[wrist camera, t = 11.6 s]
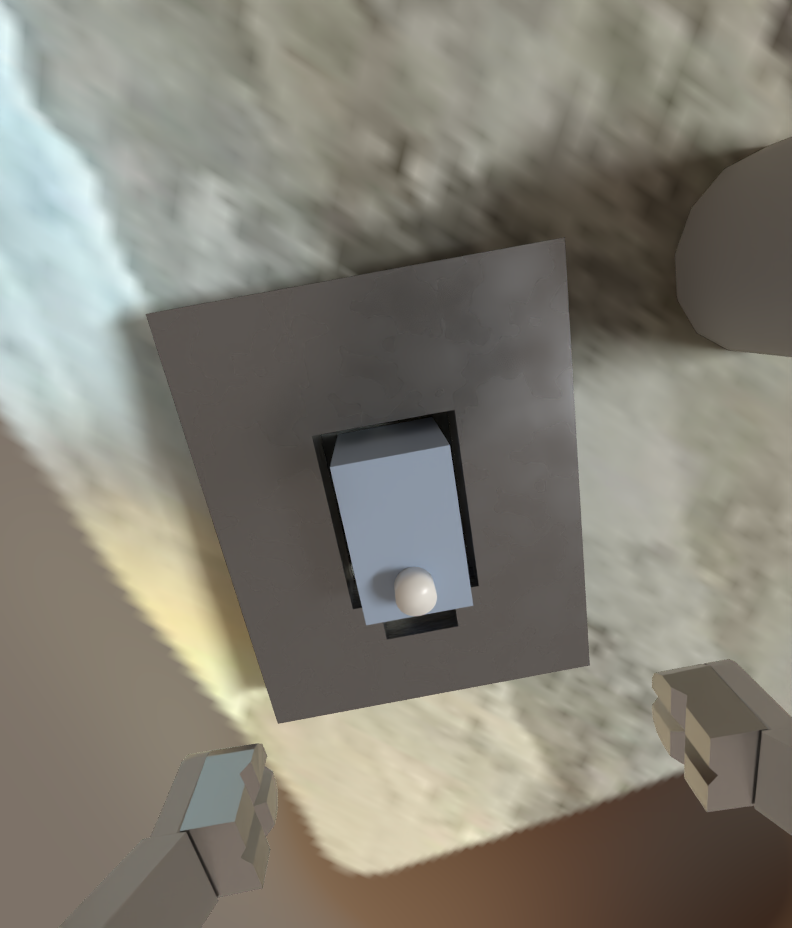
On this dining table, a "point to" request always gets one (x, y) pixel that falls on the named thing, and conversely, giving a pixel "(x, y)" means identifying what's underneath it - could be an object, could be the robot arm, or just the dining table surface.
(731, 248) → the cup
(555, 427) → the frame
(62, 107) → the dining table surface
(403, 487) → the block
